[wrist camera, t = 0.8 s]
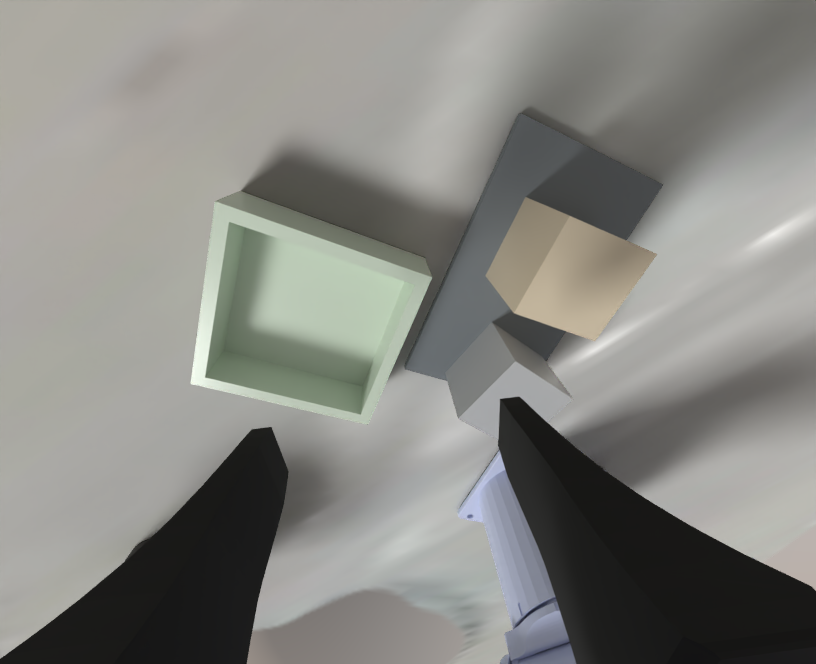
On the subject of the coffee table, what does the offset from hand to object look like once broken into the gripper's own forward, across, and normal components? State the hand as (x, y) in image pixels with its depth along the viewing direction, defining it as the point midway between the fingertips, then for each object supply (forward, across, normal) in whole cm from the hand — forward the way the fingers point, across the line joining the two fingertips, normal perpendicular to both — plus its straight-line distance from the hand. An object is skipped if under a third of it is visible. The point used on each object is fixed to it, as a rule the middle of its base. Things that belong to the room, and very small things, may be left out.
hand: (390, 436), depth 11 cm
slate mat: (+10, -7, 0) cm, 12 cm away
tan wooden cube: (+9, -8, -2) cm, 13 cm away
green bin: (+10, +4, -1) cm, 10 cm away
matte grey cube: (+9, -6, +4) cm, 12 cm away
